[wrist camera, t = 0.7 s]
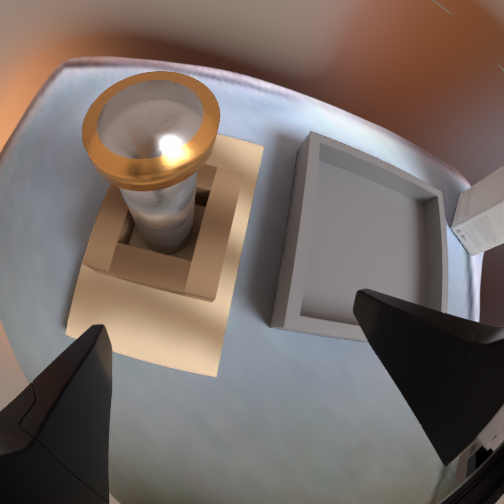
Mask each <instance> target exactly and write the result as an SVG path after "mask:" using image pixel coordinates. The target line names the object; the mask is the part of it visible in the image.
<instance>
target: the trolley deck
mask: <svg viewBox="0 0 504 504" xmlns="http://www.w3.org/2000/svg"><path fill="white" fill-rule="evenodd" d="M263 149H264V146H260V145H257V144H253V143H250V142H246V141H242V140H239V139H235V138H231V137H227V136H223V135H219V134H217V137H216V142H215V146H214V149H213V151H212V154H211V155H210V157H209V159H208V160H207V161H206V163H205V164H204V165H203V166H202V167H201V168H200V169H199V170H198V171H197V180H196V191H195V204H194V218H193V233H192V237H191V239H190V241H189V243H188V244H187V246H186V247H185V248H184V249H182V250H181V251H179V252H177V253H175V254H171V255H165V254H161V253H157V252H154V251H152V250H151V249H150V248H149V247H148V246H147V245H146V244H145V242H144V240H143V238H142V236H141V234H140V232H139V230H138V228H137V226H136V223H135V221H134V219H133V217H132V215H131V213H130V211H129V209H128V206H127V204H126V202H125V200H124V197H123V195H122V193H121V191H120V188H119V187H117V186H115V185H112V184H111V183H110V185H109V188H108V190H107V193H106V195H105V198H104V200H103V203H102V205H101V208H100V211H99V213H98V216H97V219H96V221H95V224H94V227H93V230H92V233H91V236H90V239H89V242H88V245H87V248H86V252H85V255H84V258H83V262H82V265H81V269H80V272H79V276H78V280H77V284H76V287H75V291H74V296H73V300H72V304H71V309H70V313H69V318H68V323H67V329H66V334H65V335H68V336H70V337H73V338H76V339H77V338H78V337H80V336H81V335H82V334H83V333H84V332H85V331H86V330H87V329H88V328H89V327H91V326H92V325H94V324H103V325H105V327H106V330H107V333H108V336H109V339H110V341H111V345H112V351H113V352H117V353H120V354H123V355H126V356H130V357H133V358H137V359H140V360H144V361H147V362H151V363H155V364H159V365H163V366H167V367H171V368H175V369H179V370H184V371H188V372H193V373H198V374H203V375H208V376H213V377H216V375H217V370H218V365H219V360H220V355H221V350H222V345H223V340H224V335H225V330H226V325H227V320H228V315H229V310H230V305H231V301H232V296H233V291H234V286H235V281H236V276H237V271H238V266H239V262H240V257H241V252H242V247H243V243H244V238H245V233H246V228H247V224H248V219H249V214H250V209H251V205H252V200H253V195H254V191H255V186H256V181H257V177H258V172H259V168H260V163H261V158H262V154H263Z"/></svg>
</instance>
